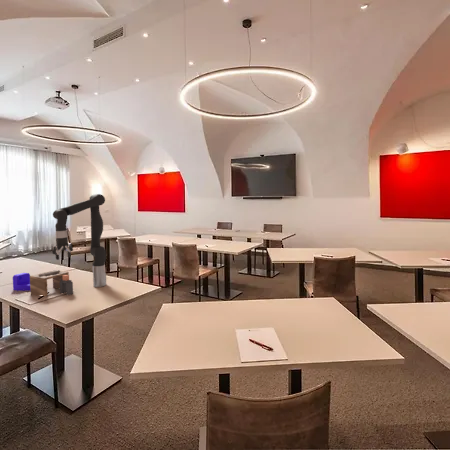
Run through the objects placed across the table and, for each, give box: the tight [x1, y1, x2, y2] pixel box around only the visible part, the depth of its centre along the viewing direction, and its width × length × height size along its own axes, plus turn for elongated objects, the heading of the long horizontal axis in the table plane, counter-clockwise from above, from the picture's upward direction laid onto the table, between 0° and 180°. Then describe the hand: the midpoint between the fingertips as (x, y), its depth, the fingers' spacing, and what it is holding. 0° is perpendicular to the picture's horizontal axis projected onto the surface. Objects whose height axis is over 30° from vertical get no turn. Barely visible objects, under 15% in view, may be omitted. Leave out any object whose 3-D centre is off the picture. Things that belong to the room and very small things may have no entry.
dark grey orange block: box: [59, 274, 74, 296], centre depth 220 cm, size 4×9×14 cm, turn 67°
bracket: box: [12, 272, 31, 292], centre depth 231 cm, size 18×11×12 cm, turn 72°
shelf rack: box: [30, 269, 70, 297], centre depth 224 cm, size 20×16×15 cm
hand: (63, 258), depth 216 cm, fingers open, 8 cm apart
